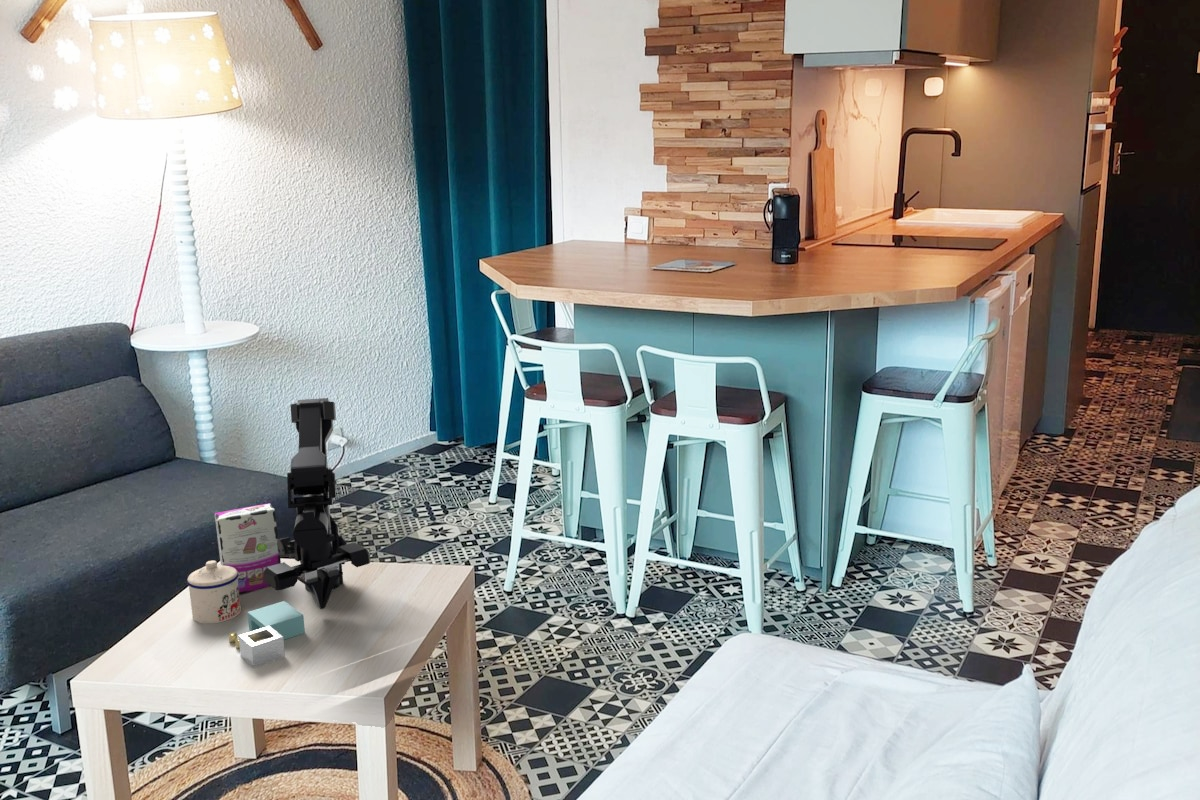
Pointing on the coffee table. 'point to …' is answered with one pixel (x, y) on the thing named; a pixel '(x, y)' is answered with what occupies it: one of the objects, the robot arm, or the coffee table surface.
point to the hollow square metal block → (261, 646)
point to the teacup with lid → (214, 593)
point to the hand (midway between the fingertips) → (321, 608)
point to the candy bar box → (248, 543)
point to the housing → (278, 619)
